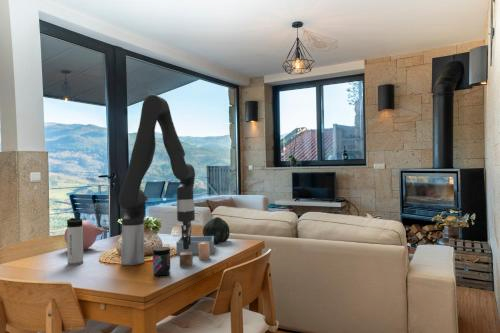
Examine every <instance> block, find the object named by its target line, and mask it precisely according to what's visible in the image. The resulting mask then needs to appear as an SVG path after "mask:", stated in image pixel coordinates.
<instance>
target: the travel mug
mask: <svg viewBox="0 0 500 333" xmlns="http://www.w3.org/2000/svg"><path fill="white" fill-rule="evenodd" d="M82 220H83V219H82V218H75V217H72V218H68V219H67V220H66V224H67V226H66V229H67V244H66V247H67V249H66V250H67V265H68V266H79V265H82V264H83V263H84V250H83V226H82Z"/></svg>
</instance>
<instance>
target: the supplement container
mask: <svg viewBox="0 0 500 333" xmlns="http://www.w3.org/2000/svg"><path fill="white" fill-rule="evenodd" d="M152 274H153V276H154V277H155V278H165V277H168V276H170V275H171V247H170V246H157V247H153V248H152Z"/></svg>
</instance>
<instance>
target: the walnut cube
mask: <svg viewBox="0 0 500 333" xmlns="http://www.w3.org/2000/svg"><path fill="white" fill-rule="evenodd" d="M193 255H194V254H193V252H181V253H180V254H179V267H181V268H182V267H192V266H193V263H194V262H193V261H194V260H193V258H194V256H193Z"/></svg>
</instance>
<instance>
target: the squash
mask: <svg viewBox="0 0 500 333" xmlns="http://www.w3.org/2000/svg"><path fill="white" fill-rule="evenodd" d="M230 234H231V233H230V226H229V225H228V223H227V222H226V221H225V220H224V219H223V218H221V217H219V216H217V217H214V218H212V219H210V220H209V221H208V222H206V223H205V224H204V226H203V229H202V236H214V244H219V243H220V244H221V243H224V242H227V241H228V239H229V237H230Z"/></svg>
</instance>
